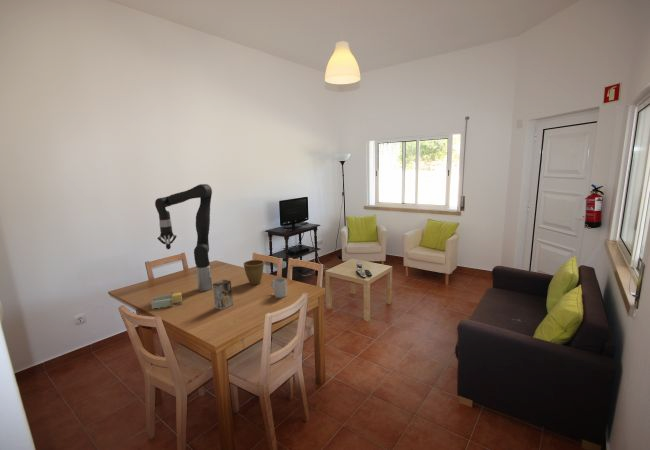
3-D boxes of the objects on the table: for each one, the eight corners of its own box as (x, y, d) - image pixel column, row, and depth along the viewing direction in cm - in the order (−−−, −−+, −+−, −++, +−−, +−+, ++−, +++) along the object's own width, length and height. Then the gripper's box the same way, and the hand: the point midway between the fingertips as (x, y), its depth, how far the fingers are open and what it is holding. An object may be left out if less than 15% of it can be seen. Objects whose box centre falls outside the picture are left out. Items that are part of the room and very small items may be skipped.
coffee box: (226, 302, 205) (224, 279, 201) (233, 304, 201) (231, 280, 198) (214, 308, 197) (212, 283, 194) (221, 310, 194) (219, 285, 190)
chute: (182, 298, 213) (181, 290, 212) (181, 305, 201) (180, 297, 200) (154, 302, 207) (153, 295, 206) (151, 310, 195) (150, 302, 194)
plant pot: (269, 281, 240) (268, 261, 236) (255, 288, 227) (253, 266, 224) (255, 278, 247) (253, 258, 244) (240, 284, 235) (239, 263, 232)
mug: (289, 294, 215) (288, 279, 213) (280, 298, 208) (280, 283, 206) (276, 290, 222) (275, 275, 220) (267, 294, 215) (267, 279, 213)
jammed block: (181, 298, 209) (181, 291, 208) (181, 301, 205) (180, 294, 204) (173, 300, 207) (172, 293, 206) (173, 303, 203) (172, 296, 202)
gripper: (176, 223, 230) (178, 246, 233) (155, 225, 225) (158, 249, 228) (175, 225, 223) (178, 249, 226) (154, 227, 218) (157, 251, 221)
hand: (168, 249), depth 227 cm, fingers closed
